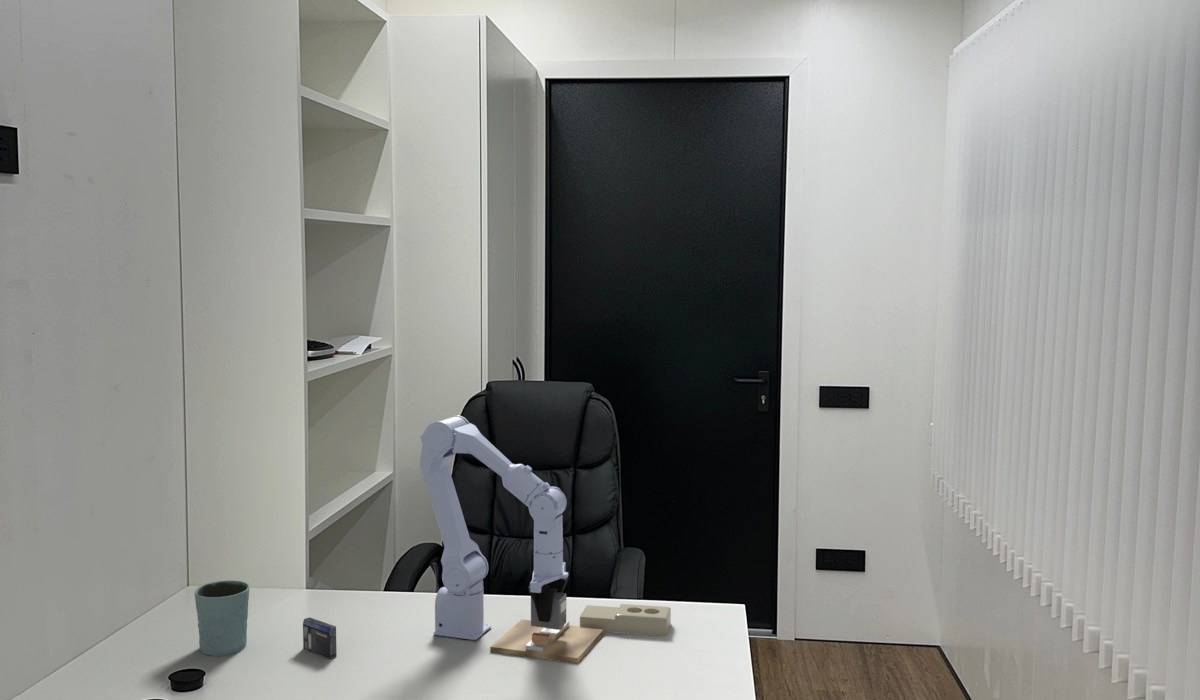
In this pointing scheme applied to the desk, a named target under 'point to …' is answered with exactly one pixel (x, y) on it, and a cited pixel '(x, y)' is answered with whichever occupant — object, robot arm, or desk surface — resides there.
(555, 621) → the block
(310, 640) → the mini dv tape
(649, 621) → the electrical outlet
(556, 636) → the din rail
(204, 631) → the teal cup
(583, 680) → the desk surface
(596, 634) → the mounting board
